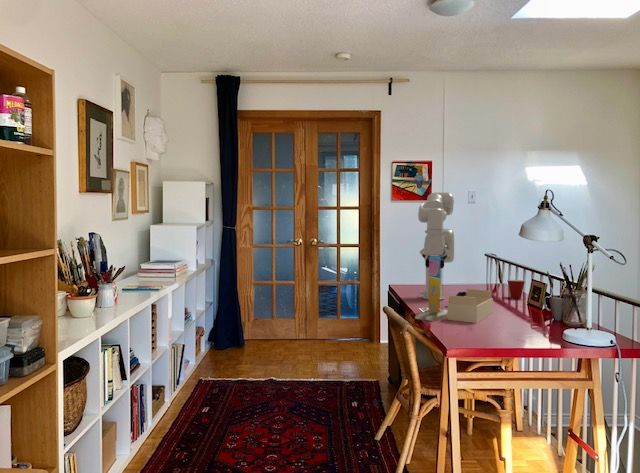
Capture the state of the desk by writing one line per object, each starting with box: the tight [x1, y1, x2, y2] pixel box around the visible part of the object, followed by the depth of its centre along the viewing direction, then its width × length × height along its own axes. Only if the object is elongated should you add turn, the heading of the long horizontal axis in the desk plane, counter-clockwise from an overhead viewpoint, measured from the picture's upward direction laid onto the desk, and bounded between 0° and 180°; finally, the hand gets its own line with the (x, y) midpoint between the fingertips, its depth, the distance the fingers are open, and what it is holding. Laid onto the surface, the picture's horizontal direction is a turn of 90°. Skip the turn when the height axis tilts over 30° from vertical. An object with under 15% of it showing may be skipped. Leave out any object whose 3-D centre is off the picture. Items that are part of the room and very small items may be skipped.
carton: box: [446, 288, 494, 324], centre depth 263 cm, size 15×29×12 cm, turn 147°
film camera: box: [455, 291, 466, 297], centre depth 289 cm, size 15×10×9 cm, turn 159°
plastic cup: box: [506, 279, 526, 300], centre depth 317 cm, size 11×11×12 cm
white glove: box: [414, 308, 447, 322], centre depth 264 cm, size 11×24×2 cm, turn 147°
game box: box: [428, 255, 441, 312], centre depth 263 cm, size 21×6×27 cm, turn 167°
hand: (434, 267), depth 263 cm, fingers closed on game box, 6 cm apart
